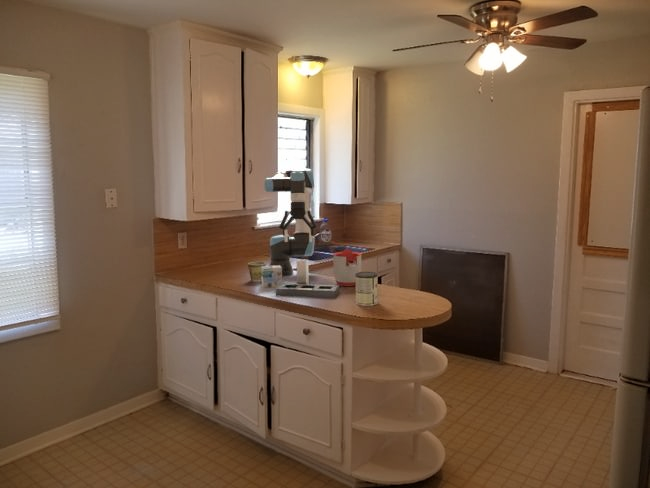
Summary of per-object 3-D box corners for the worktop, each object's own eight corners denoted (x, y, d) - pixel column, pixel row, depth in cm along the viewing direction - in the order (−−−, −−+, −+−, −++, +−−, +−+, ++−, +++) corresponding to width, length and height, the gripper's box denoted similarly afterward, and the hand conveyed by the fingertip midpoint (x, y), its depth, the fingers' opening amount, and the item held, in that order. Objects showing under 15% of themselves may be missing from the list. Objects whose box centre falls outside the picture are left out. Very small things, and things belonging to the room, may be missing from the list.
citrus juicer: (338, 289, 287) (338, 251, 284) (329, 282, 304) (329, 246, 301) (367, 287, 291) (367, 249, 288) (356, 280, 308) (356, 245, 305)
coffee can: (354, 300, 262) (354, 271, 260) (376, 300, 262) (376, 271, 260) (356, 306, 252) (356, 276, 250) (378, 305, 252) (378, 275, 250)
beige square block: (299, 287, 294) (299, 259, 292) (308, 287, 293) (308, 259, 291) (297, 289, 289) (296, 260, 287) (306, 289, 288) (305, 261, 286)
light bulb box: (263, 288, 292) (262, 268, 291) (261, 285, 299) (260, 266, 297) (282, 286, 295) (282, 267, 294) (280, 284, 301) (279, 264, 300)
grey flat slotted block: (283, 289, 288) (283, 283, 287) (339, 291, 281) (339, 285, 280) (275, 295, 275) (275, 288, 275) (334, 297, 268) (334, 290, 268)
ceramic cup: (262, 282, 306) (262, 265, 305) (245, 282, 308) (245, 264, 307) (269, 278, 319) (269, 261, 317) (253, 277, 321) (252, 260, 319)
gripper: (272, 201, 288) (273, 242, 289) (318, 200, 282) (319, 242, 283) (277, 202, 296) (278, 241, 296) (322, 201, 289) (323, 241, 290)
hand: (298, 242), depth 289 cm, fingers open, 13 cm apart
